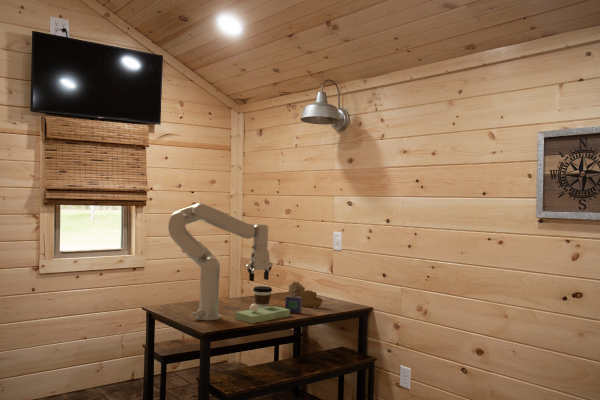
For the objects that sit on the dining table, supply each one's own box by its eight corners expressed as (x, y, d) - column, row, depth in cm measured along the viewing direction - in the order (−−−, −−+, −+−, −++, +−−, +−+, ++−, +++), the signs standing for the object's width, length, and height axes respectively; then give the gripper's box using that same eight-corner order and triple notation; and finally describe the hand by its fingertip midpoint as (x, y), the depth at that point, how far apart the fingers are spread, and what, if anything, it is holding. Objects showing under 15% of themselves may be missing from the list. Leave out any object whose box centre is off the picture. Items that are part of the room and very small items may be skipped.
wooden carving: (323, 307, 296) (323, 290, 296) (321, 309, 292) (322, 291, 292) (296, 305, 300) (296, 288, 300) (294, 306, 296) (294, 289, 296)
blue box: (301, 312, 280) (302, 293, 280) (300, 313, 277) (301, 294, 277) (285, 311, 282) (286, 292, 282) (284, 312, 279) (284, 293, 279)
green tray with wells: (251, 323, 252) (251, 316, 252) (235, 318, 261) (235, 312, 261) (289, 315, 271) (290, 309, 271) (273, 311, 280) (273, 305, 281)
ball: (253, 313, 258) (253, 304, 258) (247, 312, 262) (248, 303, 262) (260, 312, 262) (260, 303, 262) (254, 311, 265) (254, 302, 265)
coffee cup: (268, 311, 281) (269, 289, 281) (250, 310, 283) (250, 288, 283) (273, 307, 291) (274, 286, 291) (255, 306, 294) (256, 285, 294)
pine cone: (283, 295, 328) (284, 280, 329) (296, 294, 334) (296, 279, 334) (303, 302, 310) (303, 285, 310) (315, 300, 316) (316, 284, 316)
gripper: (251, 249, 258) (250, 282, 258) (277, 248, 269) (276, 280, 269) (242, 247, 263) (241, 280, 263) (268, 246, 275) (267, 278, 275)
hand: (258, 280), depth 266 cm, fingers open, 9 cm apart
